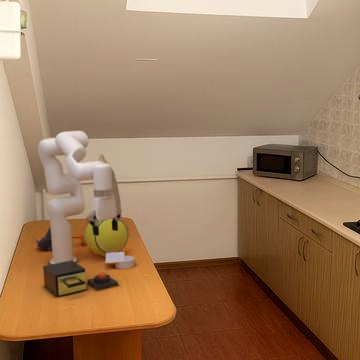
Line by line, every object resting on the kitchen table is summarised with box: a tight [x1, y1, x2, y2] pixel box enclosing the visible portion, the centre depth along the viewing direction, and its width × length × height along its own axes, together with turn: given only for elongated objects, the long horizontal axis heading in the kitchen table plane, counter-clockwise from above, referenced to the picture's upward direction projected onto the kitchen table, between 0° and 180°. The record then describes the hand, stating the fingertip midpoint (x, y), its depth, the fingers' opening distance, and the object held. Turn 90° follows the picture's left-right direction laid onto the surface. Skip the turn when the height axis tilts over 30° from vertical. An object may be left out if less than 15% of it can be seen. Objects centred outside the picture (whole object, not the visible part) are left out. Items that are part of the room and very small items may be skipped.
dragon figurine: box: [34, 226, 86, 251], centre depth 290 cm, size 10×12×25 cm
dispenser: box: [42, 260, 87, 297], centre depth 231 cm, size 15×13×9 cm
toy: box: [84, 219, 130, 258], centre depth 275 cm, size 23×22×30 cm
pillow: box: [98, 154, 122, 221], centre depth 317 cm, size 44×14×43 cm, turn 19°
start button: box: [97, 271, 107, 278], centre depth 235 cm, size 4×4×2 cm
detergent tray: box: [57, 271, 87, 296], centre depth 228 cm, size 18×11×7 cm, turn 38°
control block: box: [86, 273, 119, 291], centre depth 236 cm, size 11×9×4 cm
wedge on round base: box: [105, 251, 135, 270], centre depth 260 cm, size 9×7×13 cm
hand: (105, 232), depth 234 cm, fingers open, 9 cm apart
